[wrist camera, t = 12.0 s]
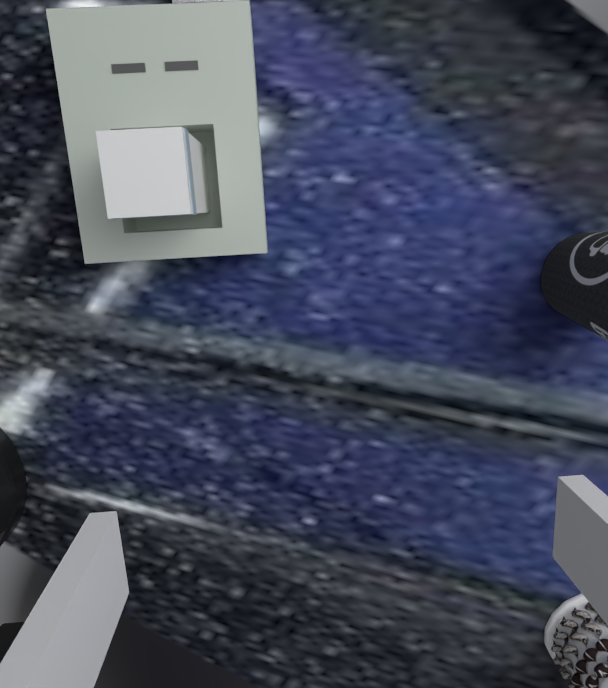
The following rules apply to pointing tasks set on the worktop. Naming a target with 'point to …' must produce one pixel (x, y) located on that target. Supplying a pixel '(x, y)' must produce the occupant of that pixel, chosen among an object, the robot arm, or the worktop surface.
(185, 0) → the phone
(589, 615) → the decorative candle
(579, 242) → the coffee cup
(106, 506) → the worktop surface
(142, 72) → the outlet plate
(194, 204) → the block
